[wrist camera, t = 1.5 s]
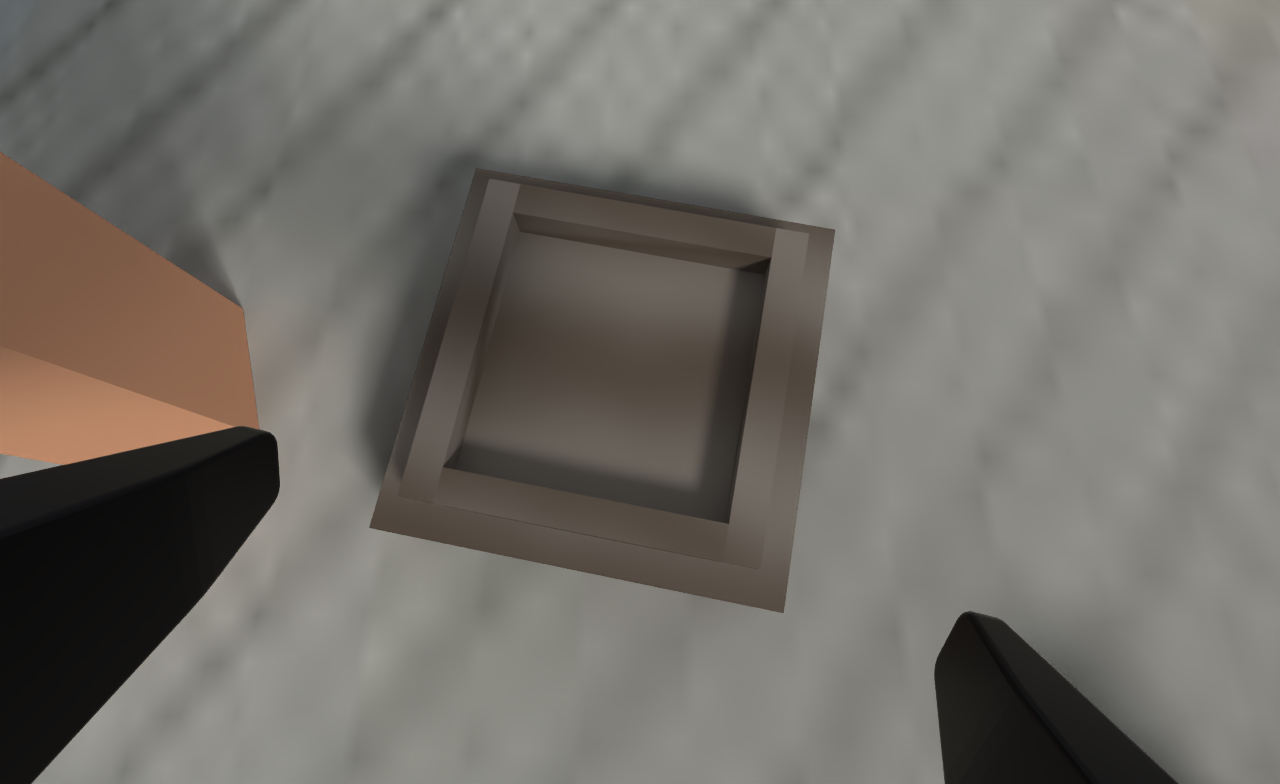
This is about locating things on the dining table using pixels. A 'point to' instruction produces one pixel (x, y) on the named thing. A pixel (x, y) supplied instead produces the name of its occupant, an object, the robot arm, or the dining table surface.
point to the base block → (616, 389)
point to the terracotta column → (106, 336)
